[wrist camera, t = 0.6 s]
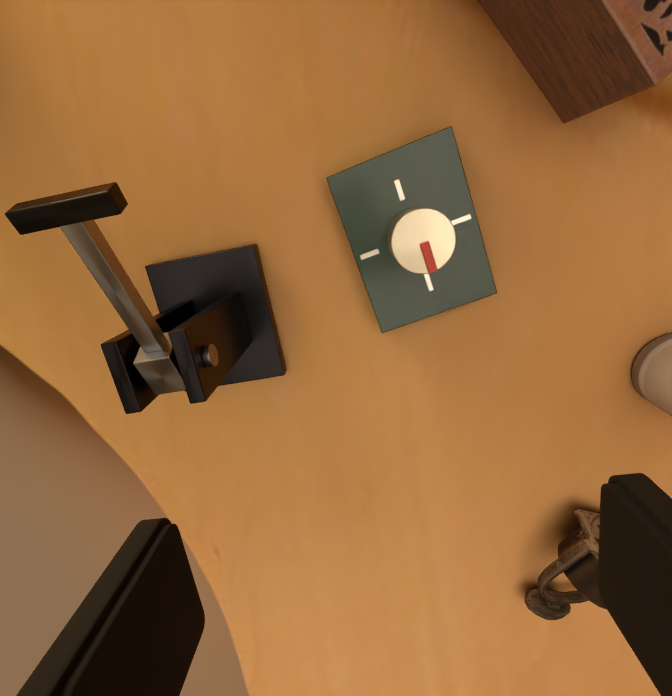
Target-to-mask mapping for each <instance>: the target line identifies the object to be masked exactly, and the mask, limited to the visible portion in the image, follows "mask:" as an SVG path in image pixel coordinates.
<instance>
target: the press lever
mask: <svg viewBox="0 0 672 696" xmlns="http://www.w3.org/2000/svg"><path fill="white" fill-rule="evenodd" d="M127 205H128V203H127V201H126V199H125V197H124V195H123V193H122V192H121V190H120V188H119V186H118V184H117V183H116V182H113V183H109V184H104V185H100V186H95V187H90V188H86V189H81V190H77V191H72V192H67V193H63V194H58V195H54V196H49V197H45V198H40V199H35V200H31V201H26V202H22V203H17V204H16V205H14V206H13V207H12V208H11V209H10V210H8V211H7V212H6V213H5V215H6V217H7V218H8V219H9V221H10V222H11V223H12V225H13V226H14V227H15V229H16V230H17V231H18V233H19V234H20V235H23V234H28V233H33V232H37V231H42V230H47V229H52V228H56V227H60V228H61V229H62V231H63V232H64V234H65V235H66V237H67V238H68V240H69V241H70V243H71V244H72V246H73V247H74V249H75V250H76V252H77V253H78V255H79V256H80V258H81V259H82V260H83V262H84V263H85V265H86V266H87V268H88V269H89V271H90V272H91V274H92V275H93V277H94V278H95V280H96V281H97V283H98V284H99V286H100V287H101V289H102V290H103V291H104V293H105V294H106V296H107V297H108V299H109V300H110V302H111V303H112V305H113V306H114V308H115V309H116V311H117V312H118V314H119V315H120V317H121V318H122V320H123V321H124V322H125V324H126V325H127V327H128V328H129V330H130V331H131V333H132V334H133V336H134V337H135V339H136V340H137V342H138V343H139V345H140V349H139V351H138V353H137V355H136V358H135V360H134V362H133V364H134V366H135V367H136V368H137V370H138V371H139V373H140V374H141V375H142V377H143V378H144V379H145V381H146V382H147V384H148V385H149V386H150V388H151V389H152V391H153V392H154V393H155V395H159V394H165V393H171V392H177V391H183V390H186V388H185V385H184V382H183V379H182V376H181V373H180V370H179V366H178V363H177V360H176V357H175V354H174V351H173V347H172V344H171V341H170V338H169V335H168V332H166V333H163V332H162V330H161V329H160V327H159V325H158V324H157V322H156V320H155V319H154V317H153V316H152V314H151V312H150V311H149V309H148V307H147V306H146V304H145V303H144V301H143V299H142V298H141V296H140V294H139V293H138V291H137V289H136V288H135V286H134V285H133V283H132V281H131V280H130V278H129V276H128V275H127V273H126V272H125V270H124V268H123V267H122V265H121V263H120V262H119V260H118V258H117V257H116V255H115V254H114V252H113V250H112V249H111V247H110V245H109V244H108V242H107V240H106V239H105V237H104V236H103V234H102V232H101V231H100V229H99V227H98V226H97V224H96V223H95V221H94V220H95V219H99V218H104V217H109V216H114V215H118V214H121V213H122V212H123V210H124V209H125V208H126V206H127Z"/></svg>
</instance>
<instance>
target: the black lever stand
mask: <svg viewBox="0 0 672 696" xmlns="http://www.w3.org/2000/svg"><path fill="white" fill-rule="evenodd" d="M145 268H146V271H147V274H148V277H149V281H150V284H151V287H152V290H153V293H154V296H155V299H156V303H157V306H158V309H159V312H160V313H159V314H157V315H155V316H154V319H155V320H156V322H157V324H158V325H159V327H160V329H161V330H162V332H163V333H166V332H168V335H169V338H170V341H171V344H172V347H173V351H174V354H175V357H176V360H177V363H178V366H179V370H180V373H181V376H182V379H183V382H184V385H185V388H186V390H184V391H186V392H187V395H188V398H189V401H190V403H191V404H192V403H198V402H205V401H206V400H207V399H208V398H209V397H210V395H211V394H212V393H213V392H214V390H215V389H216V388H217V387H218V386H221V385H227V384H233V383H239V382H245V381H252V380H258V379H264V378H270V377H276V376H282V375H285V373H286V366H285V361H284V357H283V353H282V349H281V345H280V341H279V336H278V332H277V328H276V324H275V320H274V315H273V311H272V307H271V303H270V299H269V294H268V290H267V286H266V282H265V278H264V274H263V269H262V265H261V261H260V257H259V253H258V248H257V245H256V244H253V245H248V246H243V247H238V248H233V249H228V250H223V251H218V252H213V253H207V254H202V255H197V256H192V257H187V258H182V259H177V260H172V261H167V262H161V263H156V264H151V265H148V266H145ZM101 347H102V350H103V353H104V356H105V358H106V361H107V364H108V366H109V369H110V372H111V375H112V377H113V380H114V383H115V386H116V388H117V391H118V394H119V396H120V399H121V402H122V405H123V407H124V410H125V413H126V414H129V413H136V412H141V411H142V410H143V409H144V408H145V407H147V406H148V405H149V404H150V403H151V402H152V401H153V400H154V399H155V398H156V397H157V396H158V395H155V393H154V392H153V391H152V389H151V388H150V386H149V385H148V384H147V382H146V381H145V379H144V378H143V377H142V375H141V374H140V373H139V371H138V370H137V368H136V367H135V366H134V364H133V362H134V360H135V358H136V355H137V353H138V351H139V349H140V345H139V343H138V342H137V340H136V339H135V337H134V336H133V334H132V333H131V331H130V330H127V331H125V332H123V333H121V334H119V335H117V336H116V337H114V338H112V339H110V340H108V341H106V342H104V343H102V344H101Z"/></svg>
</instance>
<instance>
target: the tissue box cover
mask: <svg viewBox="0 0 672 696" xmlns="http://www.w3.org/2000/svg"><path fill="white" fill-rule="evenodd" d="M478 1H479V2H480V4H481V5H482V7H483V8H484V10H485V11H486V12H487V14H488V15H489V17H490V18H491V20H492V21H493V22H494V24H495V25H496V27H497V28H498V30H499V31H500V32H501V34H502V35H503V37H504V38H505V40H506V41H507V42H508V44H509V45H510V47H511V48H512V50H513V51H514V52H515V54H516V55H517V57H518V58H519V60H520V61H521V62H522V64H523V65H524V67H525V68H526V69H527V71H528V72H529V74H530V75H531V77H532V78H533V79H534V81H535V82H536V84H537V85H538V87H539V88H540V89H541V91H542V92H543V94H544V95H545V97H546V98H547V99H548V101H549V102H550V104H551V105H552V107H553V108H554V109H555V111H556V112H557V114H558V115H559V117H560V118H561V119H562V121H563V123H566V122H568V121H571V120H573V119H575V118H578V117H580V116H583V115H585V114H587V113H590V112H592V111H595V110H597V109H600V108H602V107H604V106H607V105H609V104H612V103H614V102H617V101H619V100H621V99H624V98H626V97H629V96H631V95H634V94H636V93H638V92H641V91H643V90H646V89H648V88H650V87H653V86H655V85H657V84H658V83H659V82H660V81H661V80H662V79H664V78H665V77H666V76H667V75H668V74H669V73H671V72H672V0H478Z"/></svg>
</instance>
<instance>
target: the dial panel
mask: <svg viewBox="0 0 672 696" xmlns="http://www.w3.org/2000/svg"><path fill="white" fill-rule="evenodd" d="M326 179H327V182H328V185H329V187H330V190H331V193H332V196H333V199H334V201H335V204H336V207H337V210H338V212H339V215H340V218H341V221H342V223H343V226H344V229H345V232H346V235H347V237H348V240H349V243H350V246H351V248H352V251H353V254H354V257H355V260H356V262H357V265H358V268H359V271H360V273H361V276H362V279H363V282H364V285H365V287H366V290H367V293H368V296H369V298H370V301H371V304H372V307H373V310H374V312H375V315H376V318H377V321H378V323H379V326H380V329H381V332H382V333H384V332H387V331H390V330H393V329H396V328H398V327H401V326H404V325H407V324H410V323H413V322H416V321H419V320H421V319H424V318H427V317H430V316H433V315H436V314H439V313H442V312H444V311H447V310H450V309H453V308H456V307H459V306H462V305H465V304H468V303H470V302H473V301H476V300H479V299H482V298H485V297H488V296H491V295H493V294H496V293H497V290H496V287H495V283H494V279H493V276H492V272H491V268H490V265H489V261H488V257H487V254H486V250H485V246H484V243H483V239H482V235H481V232H480V228H479V224H478V221H477V217H476V213H475V210H474V206H473V202H472V199H471V195H470V191H469V188H468V184H467V181H466V177H465V173H464V170H463V166H462V162H461V159H460V155H459V151H458V148H457V144H456V140H455V137H454V133H453V129H452V127H451V126H450V127H448V128H445V129H443V130H440V131H438V132H436V133H433V134H431V135H428V136H426V137H423V138H421V139H419V140H416V141H414V142H411V143H409V144H406V145H404V146H402V147H399V148H397V149H394V150H392V151H390V152H387V153H385V154H382V155H380V156H377V157H375V158H373V159H370V160H368V161H365V162H363V163H360V164H358V165H356V166H353V167H351V168H348V169H346V170H343V171H341V172H339V173H336V174H334V175H331V176H329V177H327V178H326ZM411 208H432V209H436V210H438V211H440V212H442V213H443V214H445V215H446V216H447V217H448V218H449V219H450V221H451V222H452V224H453V226H454V229H455V233H456V246H455V249H454V252H453V254H452V256H451V258H450V259H449V261H448V262H447V263H446V264H445V265H444V266H443V267H441V268H440V269H438V271H436V272H433V273H430V274H429V273H428V274H416V273H412V272H409V271H407V270H406V269H404V268H403V267H401V266H400V265H399V263H398V262H397V261H396V260H395V258H394V257H393V256H392V254H391V253H390V251H389V249H388V246H387V231H388V228H389V225H390V223H391V222H392V220H393V219H394V218H395V217H396V216H397V215H398V214H399V213H401V212H402V211H405V210H407V209H411Z"/></svg>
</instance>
